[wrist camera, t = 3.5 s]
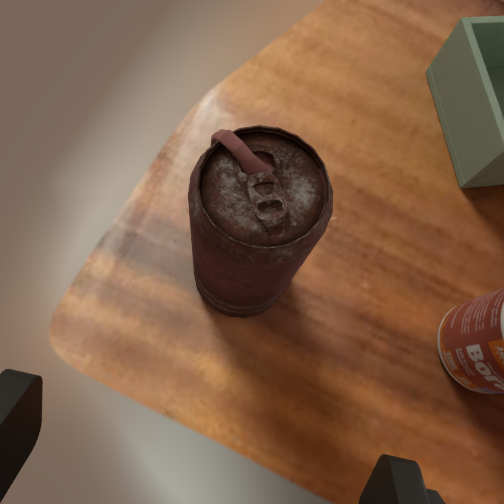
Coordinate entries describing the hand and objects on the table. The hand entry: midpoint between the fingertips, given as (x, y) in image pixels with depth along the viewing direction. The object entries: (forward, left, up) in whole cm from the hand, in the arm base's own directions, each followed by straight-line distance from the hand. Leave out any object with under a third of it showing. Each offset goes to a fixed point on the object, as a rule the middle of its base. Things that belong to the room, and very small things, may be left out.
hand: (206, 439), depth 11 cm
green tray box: (+26, +19, -19) cm, 38 cm away
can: (+3, +9, -19) cm, 21 cm away
